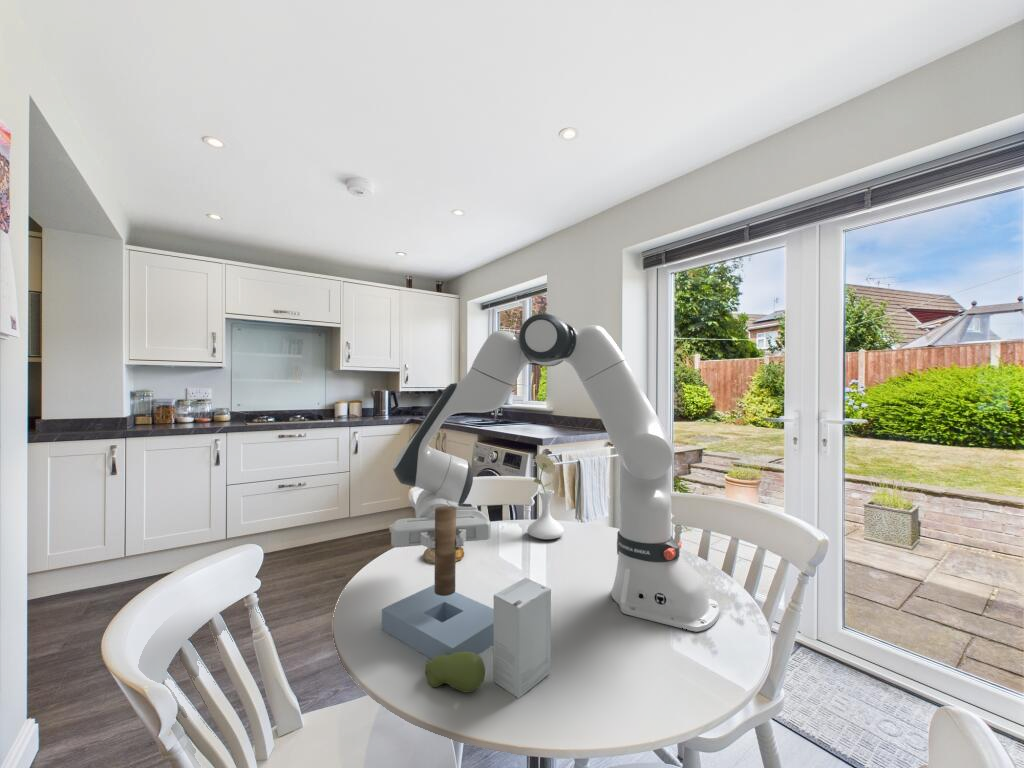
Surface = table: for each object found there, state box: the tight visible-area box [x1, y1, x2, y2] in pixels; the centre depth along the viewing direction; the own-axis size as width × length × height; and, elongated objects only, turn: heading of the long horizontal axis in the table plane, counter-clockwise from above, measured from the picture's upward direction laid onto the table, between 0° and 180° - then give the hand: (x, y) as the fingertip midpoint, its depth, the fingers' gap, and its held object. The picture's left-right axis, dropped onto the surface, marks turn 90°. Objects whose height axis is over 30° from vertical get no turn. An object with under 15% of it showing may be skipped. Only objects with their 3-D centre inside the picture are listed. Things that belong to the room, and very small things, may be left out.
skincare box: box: [492, 577, 552, 699], centre depth 75 cm, size 8×6×15 cm
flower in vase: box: [526, 453, 565, 540], centre depth 142 cm, size 13×11×25 cm
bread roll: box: [422, 546, 465, 564], centre depth 125 cm, size 11×11×5 cm
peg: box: [433, 506, 457, 596], centre depth 89 cm, size 4×4×16 cm
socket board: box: [381, 584, 494, 660], centre depth 89 cm, size 20×14×4 cm
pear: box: [424, 651, 486, 693], centre depth 74 cm, size 6×5×10 cm
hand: (445, 543), depth 88 cm, fingers closed on peg, 4 cm apart
